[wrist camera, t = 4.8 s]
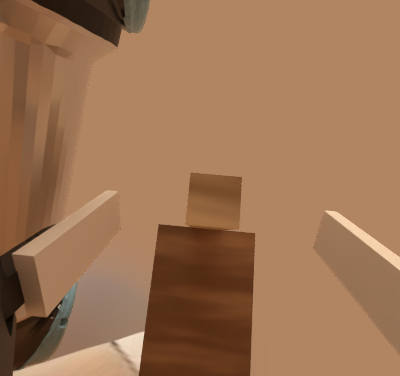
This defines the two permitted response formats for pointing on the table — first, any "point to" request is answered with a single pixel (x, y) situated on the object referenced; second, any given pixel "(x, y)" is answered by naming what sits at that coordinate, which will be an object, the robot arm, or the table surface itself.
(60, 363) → the table surface
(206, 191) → the maple bar
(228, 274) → the walnut pedestal
